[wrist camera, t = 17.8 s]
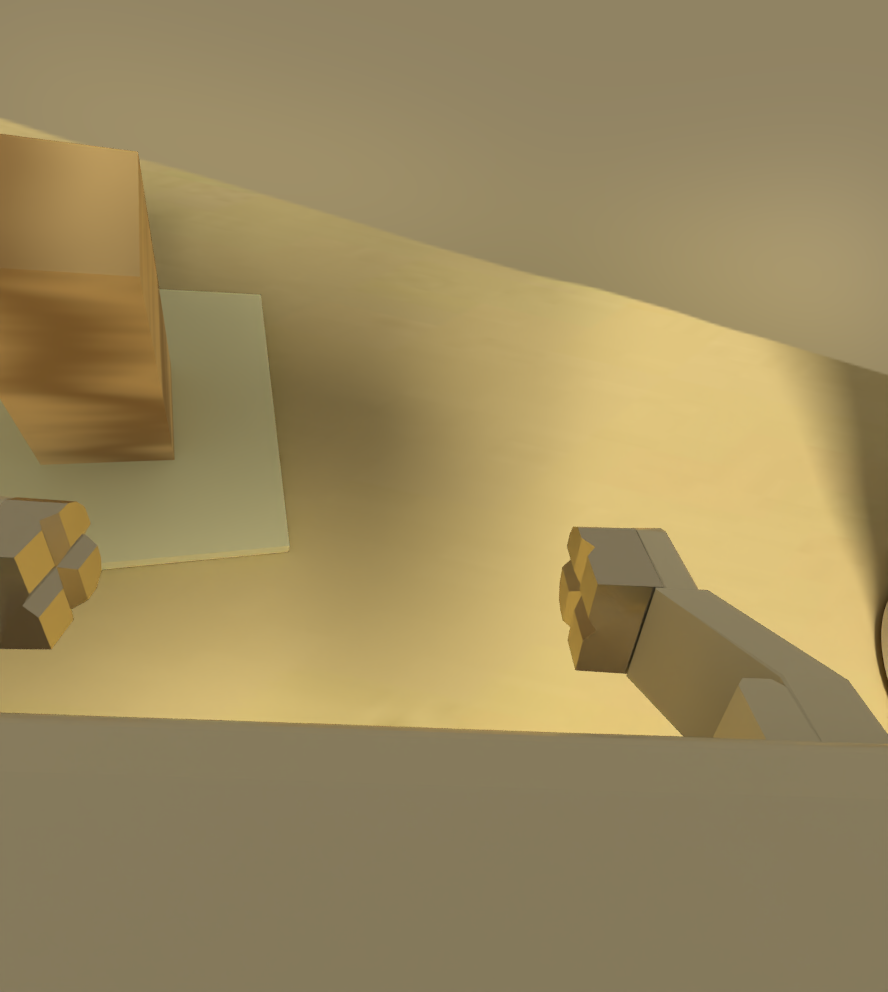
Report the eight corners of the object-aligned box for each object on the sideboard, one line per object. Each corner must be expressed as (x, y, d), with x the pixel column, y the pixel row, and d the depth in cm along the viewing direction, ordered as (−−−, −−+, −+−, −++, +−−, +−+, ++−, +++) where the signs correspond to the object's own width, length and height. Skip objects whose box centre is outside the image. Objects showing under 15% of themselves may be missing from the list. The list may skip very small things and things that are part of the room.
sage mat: (260, 304, 32) (260, 294, 31) (288, 551, 27) (289, 545, 26) (-64, 289, 27) (-72, 276, 26) (-105, 589, 22) (-117, 582, 21)
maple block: (170, 365, 28) (138, 151, 18) (174, 459, 26) (139, 276, 17) (46, 363, 26) (-62, 125, 17) (40, 464, 24) (-84, 262, 15)
